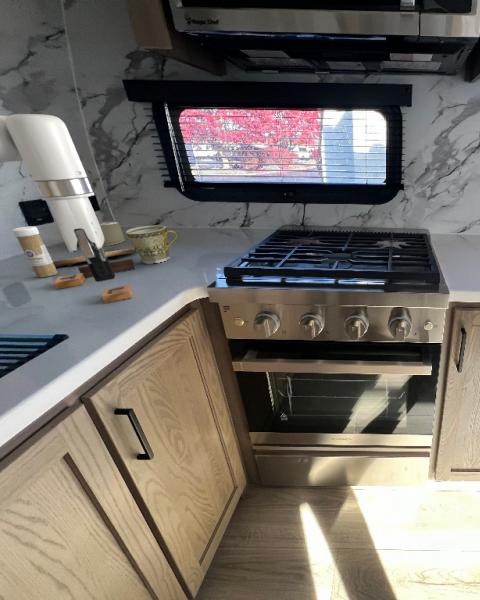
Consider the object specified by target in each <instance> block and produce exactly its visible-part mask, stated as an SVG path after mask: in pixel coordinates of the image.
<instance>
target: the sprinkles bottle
mask: <svg viewBox="0 0 480 600" xmlns="http://www.w3.org/2000/svg"><path fill="white" fill-rule="evenodd" d="M11 231H12V233H13V235H14V237H15V238H16V239H17V241H18V243H19V245H20V246H21V248H22V251H23V252H24V254H25V257H26V259H27V261H28V263H29V265H30V267H31V268H32V270H33V272H34V274H35V277H36V278H48V277H53V276H55V275H57V274H58V273H59V271H58V270H57V269H56V268H57V267H55V266H54V264H53V261H54V260H53V259H52V257H51V255H50V253H49V251H48V249H47V246H46V245H45V243H44V241H43V240H42V237H41V235H40V231H39V229H38V227H37V226H35V225H34V226H32V225H30V226H20V227H16V228H13V229H12V230H11Z"/></svg>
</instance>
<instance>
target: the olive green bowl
mask: <svg viewBox="0 0 480 600" xmlns="http://www.w3.org/2000/svg"><path fill="white" fill-rule="evenodd" d="M98 222H99V224H100V227H101V230H102V232H103V235H104V243H103V246H102V247H103V248H104V247H105V246H106V247H111V246H110V245H112V246H115V245H114V244H116V245H119V244H118V243H120V244H122V243H124V242H125V241H126V239H125V236H124V233H123V231H122V227H121V224H120V222H119V221H117V220H105V221H98ZM123 241H124V242H123ZM121 242H122V243H121Z"/></svg>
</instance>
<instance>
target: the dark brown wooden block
mask: <svg viewBox="0 0 480 600" xmlns="http://www.w3.org/2000/svg"><path fill="white" fill-rule="evenodd" d="M109 262H110V264H111V267H112V269H113V271H114V274H116V273H115V272H117V273H121V272H120V271H123V272H127V271H126V270H128V271H132V270H131V269H134V270H136V265H135V262H134V260H133V258H126V259H120V260H113V261H109ZM77 269H78V272H79V273H83V275H84V277H85V279H88V278H94V277H93V274H92V272H91V270H90V268H89V266H88V264H87V265H81V266H78V267H77Z"/></svg>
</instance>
